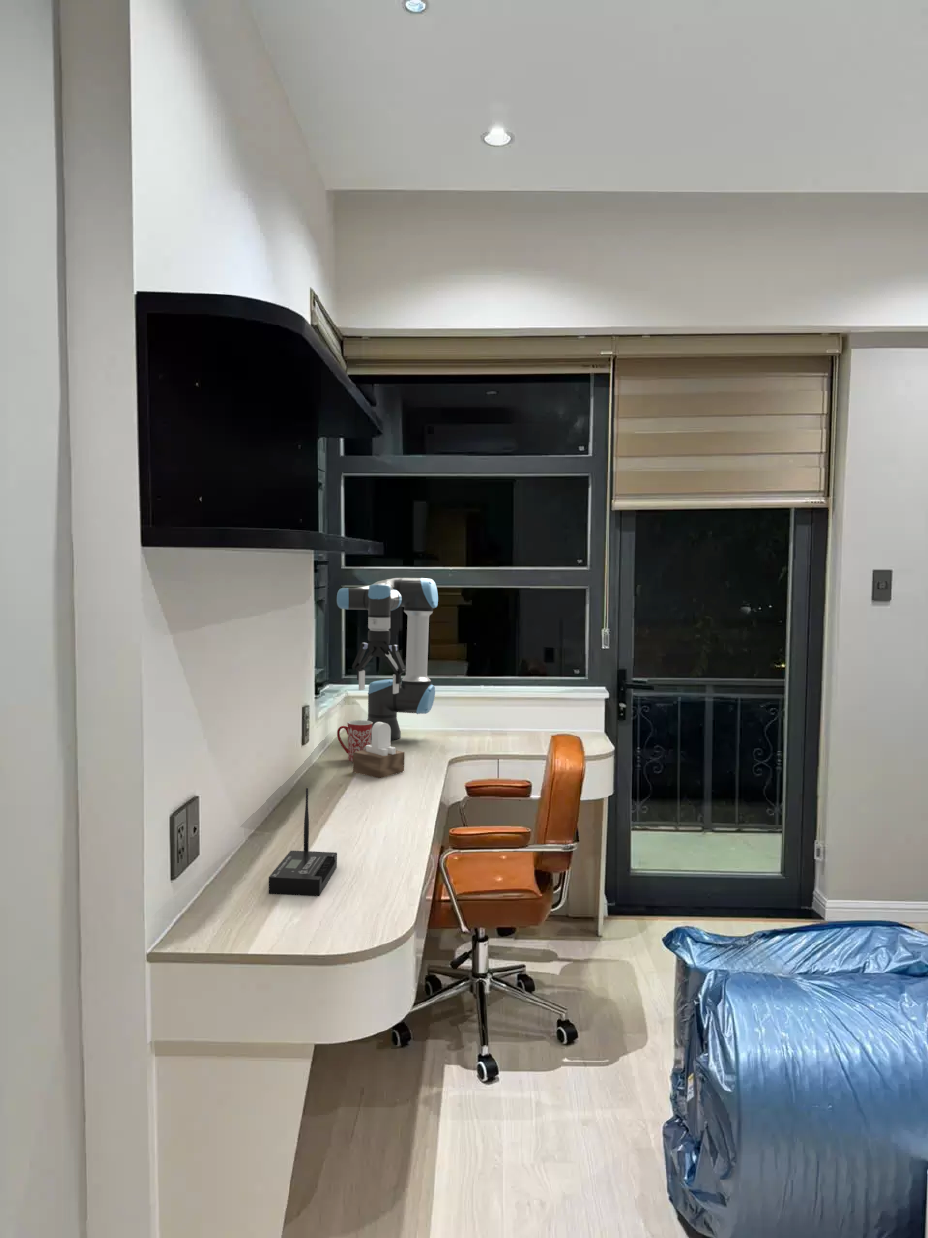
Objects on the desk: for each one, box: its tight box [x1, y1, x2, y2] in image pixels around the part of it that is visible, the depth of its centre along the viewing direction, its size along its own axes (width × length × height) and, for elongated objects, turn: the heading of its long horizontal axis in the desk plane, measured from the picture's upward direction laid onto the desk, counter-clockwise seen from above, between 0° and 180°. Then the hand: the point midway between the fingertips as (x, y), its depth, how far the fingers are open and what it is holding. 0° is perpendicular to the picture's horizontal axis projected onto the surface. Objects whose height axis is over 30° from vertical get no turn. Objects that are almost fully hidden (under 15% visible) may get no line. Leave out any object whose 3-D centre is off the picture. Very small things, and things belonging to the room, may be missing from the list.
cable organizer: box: [366, 722, 397, 756], centre depth 262 cm, size 5×10×10 cm, turn 44°
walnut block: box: [352, 749, 406, 779], centre depth 263 cm, size 12×12×7 cm
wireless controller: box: [268, 787, 338, 897], centre depth 169 cm, size 20×14×17 cm
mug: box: [336, 719, 373, 763], centre depth 279 cm, size 13×9×14 cm
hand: (378, 691), depth 271 cm, fingers open, 13 cm apart
